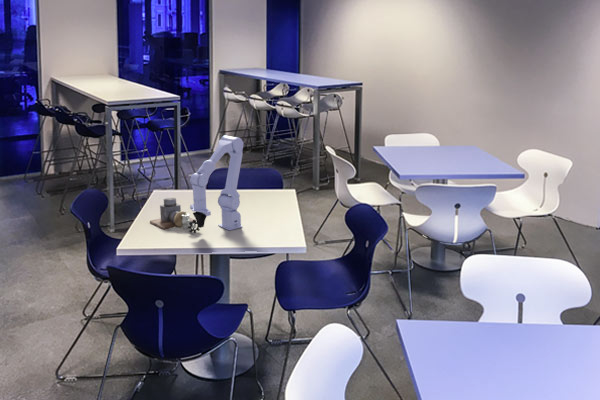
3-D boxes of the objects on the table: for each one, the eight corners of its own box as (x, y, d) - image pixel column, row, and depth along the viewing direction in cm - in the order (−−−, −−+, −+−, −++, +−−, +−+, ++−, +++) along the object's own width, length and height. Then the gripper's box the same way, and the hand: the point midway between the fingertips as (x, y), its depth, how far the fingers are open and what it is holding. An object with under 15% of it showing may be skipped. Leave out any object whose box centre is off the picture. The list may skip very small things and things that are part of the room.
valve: (177, 227, 304) (188, 234, 294) (177, 214, 302) (188, 221, 293) (190, 225, 307) (201, 232, 298) (189, 212, 306) (200, 218, 296)
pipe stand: (198, 223, 310) (197, 200, 307) (165, 230, 299) (164, 207, 296) (181, 215, 322) (180, 194, 319) (149, 222, 311) (148, 200, 308)
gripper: (183, 197, 290) (185, 225, 294) (200, 204, 280) (202, 232, 284) (197, 194, 295) (198, 221, 299) (214, 201, 284) (215, 229, 288)
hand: (201, 227), depth 291 cm, fingers closed
